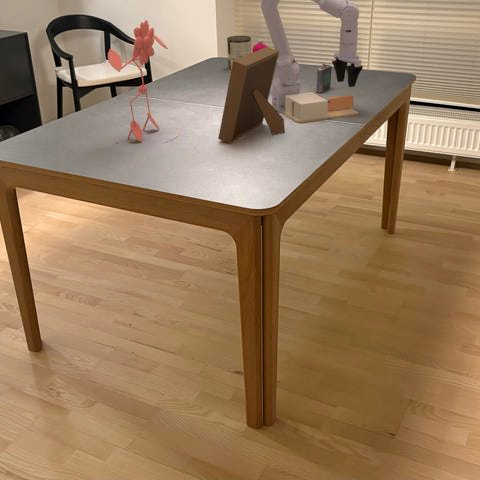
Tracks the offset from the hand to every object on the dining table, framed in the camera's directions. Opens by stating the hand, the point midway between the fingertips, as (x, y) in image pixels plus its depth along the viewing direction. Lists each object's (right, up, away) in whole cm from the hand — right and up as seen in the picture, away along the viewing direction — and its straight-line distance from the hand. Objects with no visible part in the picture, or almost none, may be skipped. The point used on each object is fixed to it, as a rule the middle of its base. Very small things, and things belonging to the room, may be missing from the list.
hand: (346, 84), depth 211 cm
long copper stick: (-6, -9, +2) cm, 11 cm away
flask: (-4, +5, +29) cm, 29 cm away
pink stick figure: (-64, -21, -16) cm, 69 cm away
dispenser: (-9, -10, +1) cm, 13 cm away
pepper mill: (-28, +4, +28) cm, 40 cm away
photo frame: (-31, -20, -16) cm, 41 cm away
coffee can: (-36, +21, +61) cm, 74 cm away
